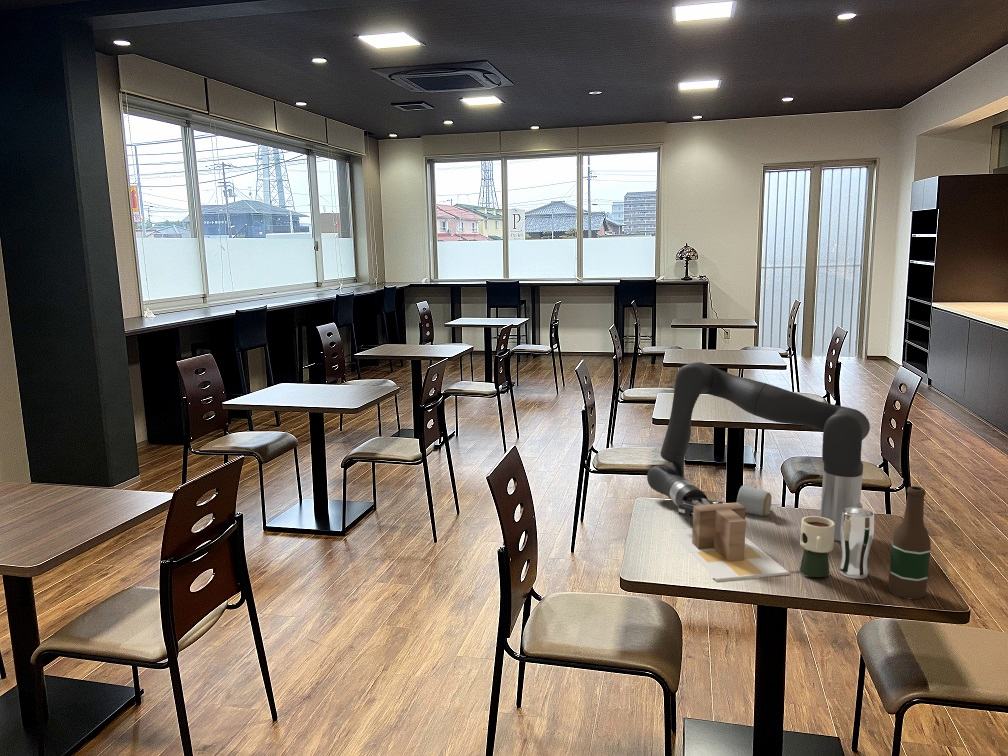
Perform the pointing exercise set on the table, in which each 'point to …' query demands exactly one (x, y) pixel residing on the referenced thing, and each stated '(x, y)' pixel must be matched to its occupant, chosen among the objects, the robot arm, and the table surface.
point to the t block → (720, 529)
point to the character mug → (816, 545)
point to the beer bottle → (910, 550)
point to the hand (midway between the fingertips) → (715, 520)
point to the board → (722, 570)
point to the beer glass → (856, 541)
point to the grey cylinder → (754, 500)
